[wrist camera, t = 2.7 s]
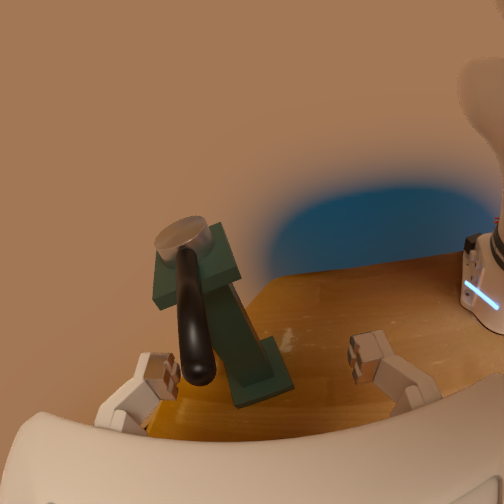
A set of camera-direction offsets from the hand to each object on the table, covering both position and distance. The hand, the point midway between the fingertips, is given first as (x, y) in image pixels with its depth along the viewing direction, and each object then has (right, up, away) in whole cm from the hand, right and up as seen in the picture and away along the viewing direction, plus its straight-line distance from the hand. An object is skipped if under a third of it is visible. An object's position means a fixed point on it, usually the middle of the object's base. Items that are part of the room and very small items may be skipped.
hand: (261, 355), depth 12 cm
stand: (0, -14, +28) cm, 32 cm away
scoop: (-5, +1, +10) cm, 12 cm away
